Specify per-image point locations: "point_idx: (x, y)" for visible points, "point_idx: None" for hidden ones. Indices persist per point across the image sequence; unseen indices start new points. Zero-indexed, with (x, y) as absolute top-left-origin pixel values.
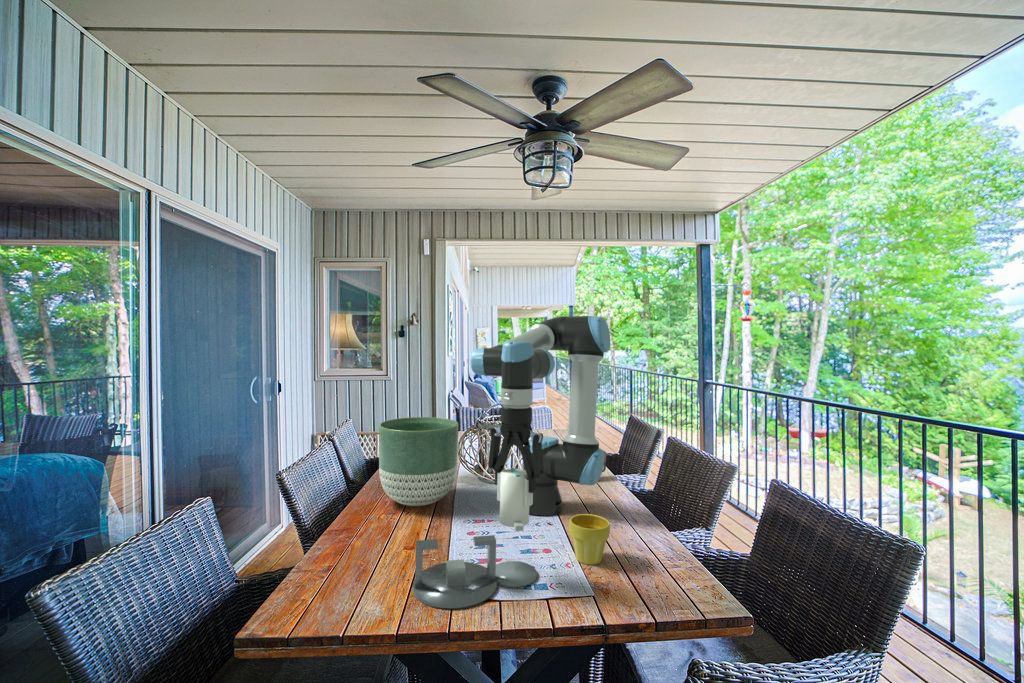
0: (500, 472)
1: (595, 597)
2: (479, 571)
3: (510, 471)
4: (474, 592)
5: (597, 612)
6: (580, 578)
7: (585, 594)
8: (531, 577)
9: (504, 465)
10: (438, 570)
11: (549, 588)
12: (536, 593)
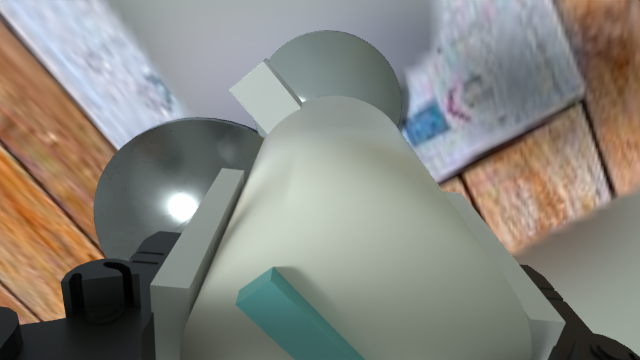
0: (163, 353)
1: (589, 104)
2: (233, 157)
3: (277, 354)
4: None
5: (596, 169)
6: (534, 16)
7: (559, 103)
8: (391, 113)
9: (140, 355)
10: (128, 205)
11: (452, 122)
12: (425, 163)
